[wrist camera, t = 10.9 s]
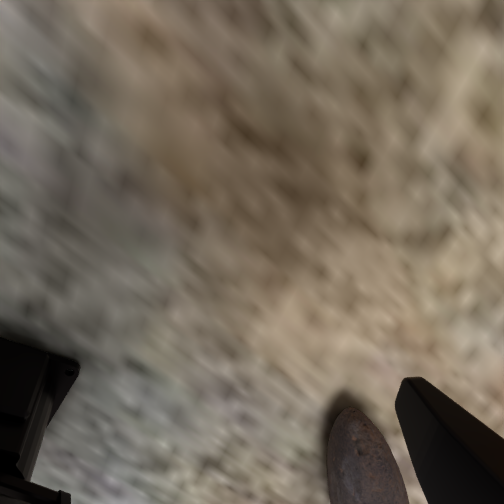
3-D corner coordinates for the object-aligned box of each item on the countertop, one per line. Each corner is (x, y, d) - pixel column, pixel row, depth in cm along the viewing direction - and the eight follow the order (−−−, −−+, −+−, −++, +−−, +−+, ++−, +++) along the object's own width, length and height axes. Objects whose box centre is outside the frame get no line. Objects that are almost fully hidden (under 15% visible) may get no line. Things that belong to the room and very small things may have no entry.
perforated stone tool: (307, 394, 29) (344, 494, 23) (381, 375, 29) (437, 467, 23) (324, 515, 36) (356, 614, 30) (383, 498, 36) (426, 592, 30)
